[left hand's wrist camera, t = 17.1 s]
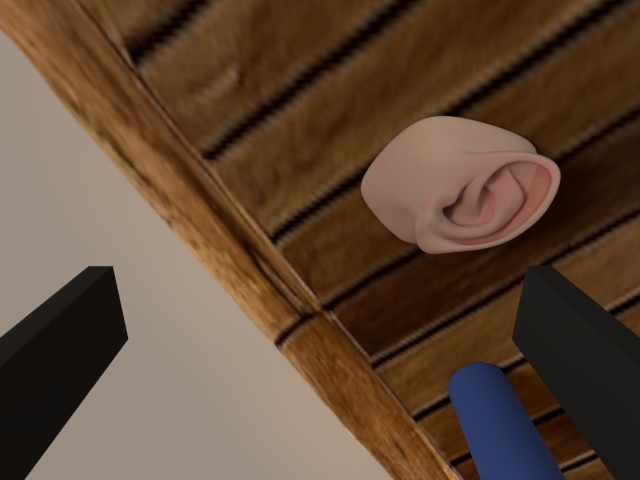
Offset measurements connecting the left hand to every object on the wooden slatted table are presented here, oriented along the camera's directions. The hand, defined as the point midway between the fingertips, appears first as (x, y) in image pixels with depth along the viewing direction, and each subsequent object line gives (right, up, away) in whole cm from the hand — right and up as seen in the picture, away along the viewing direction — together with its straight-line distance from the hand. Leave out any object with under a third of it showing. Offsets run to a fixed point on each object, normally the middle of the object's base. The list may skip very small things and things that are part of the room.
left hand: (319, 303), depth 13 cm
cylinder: (+16, -13, +28) cm, 35 cm away
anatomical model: (+10, +7, +20) cm, 24 cm away
